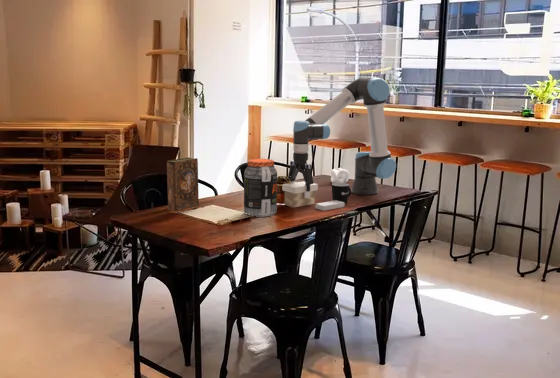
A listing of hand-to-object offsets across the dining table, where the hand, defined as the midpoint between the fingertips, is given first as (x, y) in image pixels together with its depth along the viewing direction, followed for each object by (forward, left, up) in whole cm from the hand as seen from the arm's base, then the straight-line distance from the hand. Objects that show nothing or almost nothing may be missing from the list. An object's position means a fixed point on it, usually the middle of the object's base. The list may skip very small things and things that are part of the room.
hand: (300, 195), depth 290 cm
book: (+53, -25, -5) cm, 59 cm away
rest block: (-8, +14, -5) cm, 17 cm away
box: (0, 0, -5) cm, 5 cm away
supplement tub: (+26, +2, -5) cm, 27 cm away
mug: (-22, +8, -5) cm, 24 cm away
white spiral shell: (-57, -32, -6) cm, 66 cm away
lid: (0, 0, +3) cm, 3 cm away
